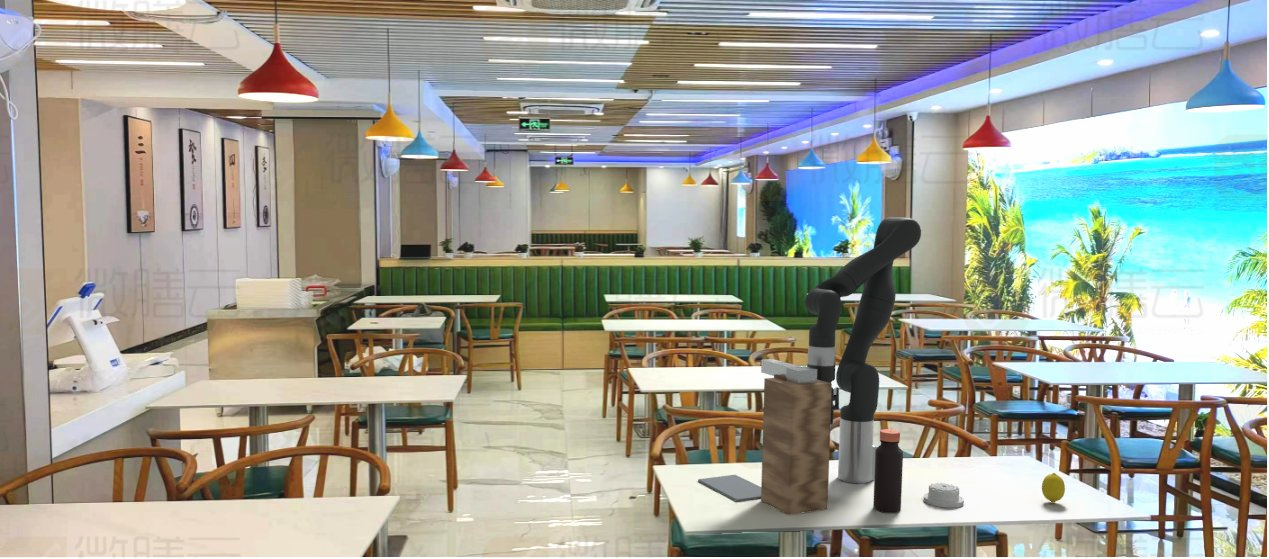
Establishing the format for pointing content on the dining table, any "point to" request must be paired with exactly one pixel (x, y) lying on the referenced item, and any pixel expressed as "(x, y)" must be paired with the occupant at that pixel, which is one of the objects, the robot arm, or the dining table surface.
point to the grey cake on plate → (943, 495)
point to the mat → (733, 487)
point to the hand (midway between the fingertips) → (819, 421)
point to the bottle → (888, 473)
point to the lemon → (1053, 487)
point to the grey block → (789, 371)
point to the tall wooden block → (796, 445)
